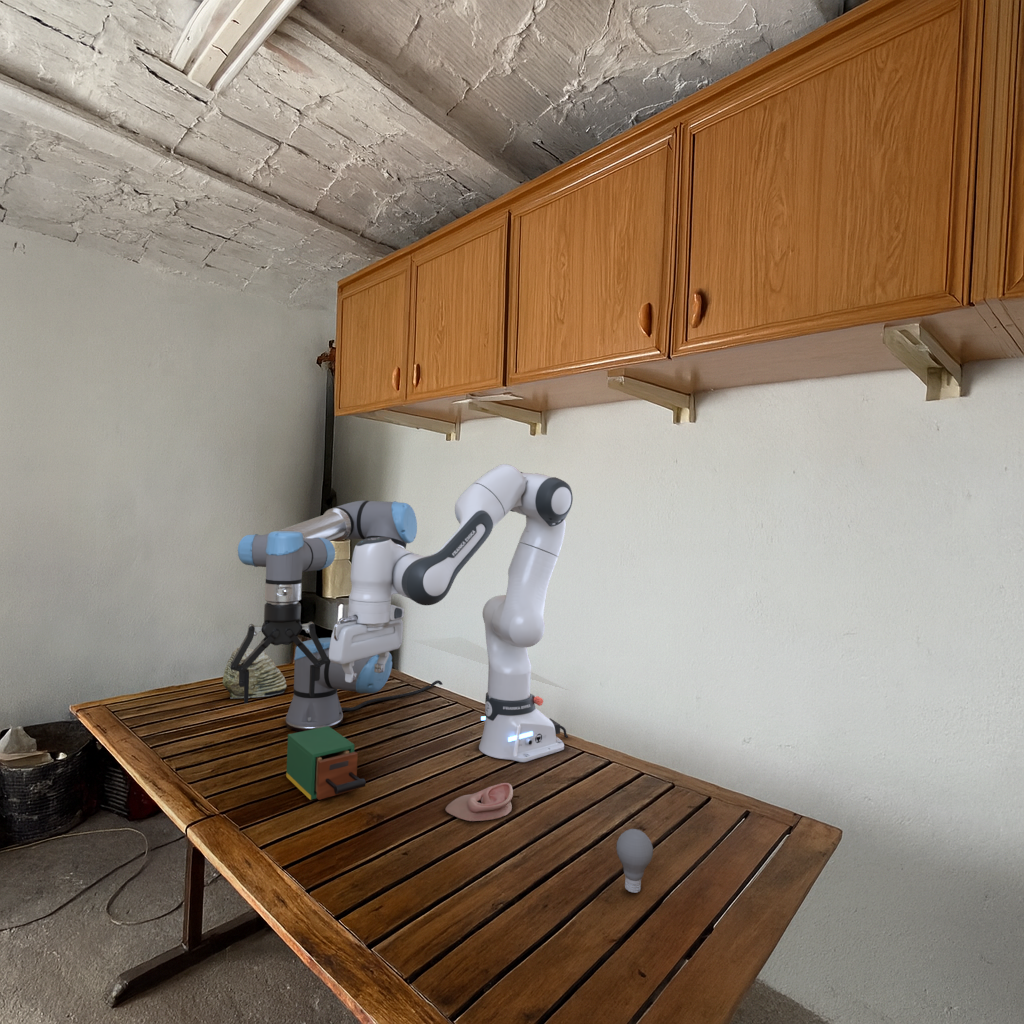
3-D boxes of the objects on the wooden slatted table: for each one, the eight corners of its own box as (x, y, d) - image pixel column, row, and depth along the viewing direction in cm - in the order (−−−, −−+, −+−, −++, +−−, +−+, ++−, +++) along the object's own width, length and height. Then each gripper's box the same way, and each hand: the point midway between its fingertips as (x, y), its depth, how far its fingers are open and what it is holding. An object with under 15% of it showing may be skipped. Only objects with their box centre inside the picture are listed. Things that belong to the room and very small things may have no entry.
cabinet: (353, 788, 138) (354, 744, 138) (310, 800, 132) (312, 754, 132) (326, 766, 149) (328, 725, 148) (286, 776, 142) (287, 734, 142)
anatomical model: (441, 797, 127) (457, 773, 138) (440, 817, 127) (456, 791, 138) (505, 806, 124) (517, 781, 136) (504, 826, 124) (516, 800, 136)
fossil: (218, 695, 195) (220, 647, 195) (278, 685, 208) (279, 640, 207) (228, 703, 189) (230, 653, 188) (289, 692, 201) (290, 645, 201)
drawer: (369, 800, 131) (371, 763, 131) (331, 812, 126) (332, 773, 126) (331, 769, 145) (332, 735, 145) (295, 778, 140) (296, 743, 140)
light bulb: (610, 879, 108) (613, 822, 108) (644, 879, 109) (647, 822, 109) (619, 902, 102) (622, 840, 102) (655, 901, 103) (658, 840, 103)
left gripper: (220, 606, 130) (216, 709, 130) (343, 603, 141) (340, 697, 141) (220, 600, 137) (216, 698, 137) (338, 597, 147) (334, 688, 148)
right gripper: (347, 621, 125) (343, 690, 125) (409, 608, 143) (405, 669, 143) (323, 616, 128) (319, 684, 128) (386, 605, 146) (383, 665, 146)
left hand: (279, 698), depth 139 cm, fingers open, 13 cm apart
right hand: (365, 676), depth 136 cm, fingers open, 8 cm apart
